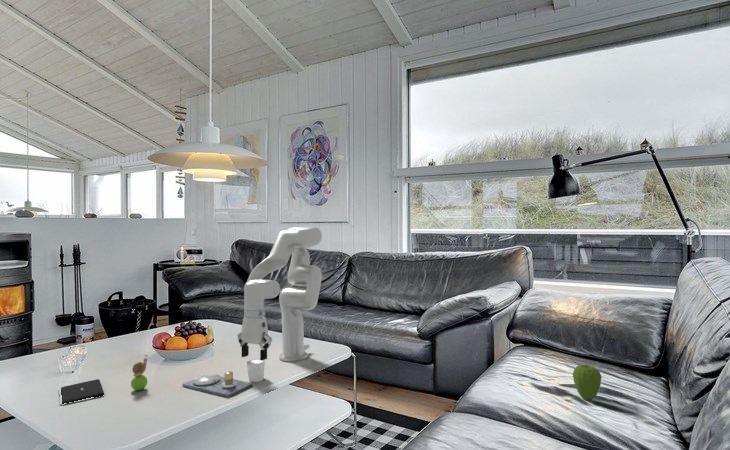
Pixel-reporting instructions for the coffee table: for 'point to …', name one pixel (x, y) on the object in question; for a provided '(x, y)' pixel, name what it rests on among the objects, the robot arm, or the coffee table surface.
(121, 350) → the coffee table surface
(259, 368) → the shot glass
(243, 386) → the flange plate
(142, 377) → the snail figurine
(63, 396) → the laptop
